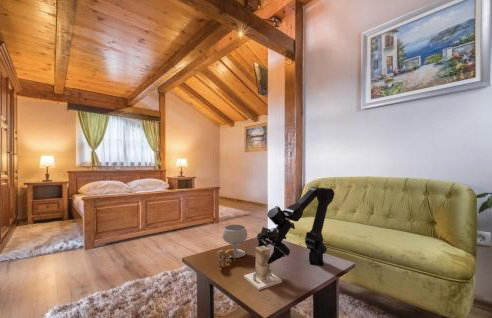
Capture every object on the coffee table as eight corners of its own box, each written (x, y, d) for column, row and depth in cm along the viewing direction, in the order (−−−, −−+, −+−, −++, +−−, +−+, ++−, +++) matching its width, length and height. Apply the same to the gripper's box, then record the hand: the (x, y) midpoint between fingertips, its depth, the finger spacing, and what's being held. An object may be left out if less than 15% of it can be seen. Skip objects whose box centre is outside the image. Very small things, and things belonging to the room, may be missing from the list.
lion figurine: (223, 271, 111) (223, 252, 111) (213, 269, 114) (213, 250, 114) (237, 259, 125) (237, 242, 125) (228, 257, 127) (228, 241, 127)
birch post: (263, 274, 107) (263, 245, 107) (269, 278, 103) (269, 248, 103) (255, 276, 104) (255, 247, 104) (261, 281, 100) (261, 250, 100)
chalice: (247, 259, 125) (247, 231, 125) (221, 259, 125) (221, 231, 125) (247, 249, 139) (247, 224, 139) (224, 249, 139) (224, 224, 139)
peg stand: (265, 271, 112) (265, 262, 112) (281, 282, 101) (281, 273, 101) (244, 277, 106) (244, 268, 106) (258, 290, 95) (258, 280, 95)
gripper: (259, 216, 114) (240, 242, 108) (284, 225, 98) (263, 257, 92) (272, 229, 118) (254, 256, 112) (298, 240, 102) (279, 272, 96)
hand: (261, 259), depth 103 cm, fingers open, 9 cm apart
